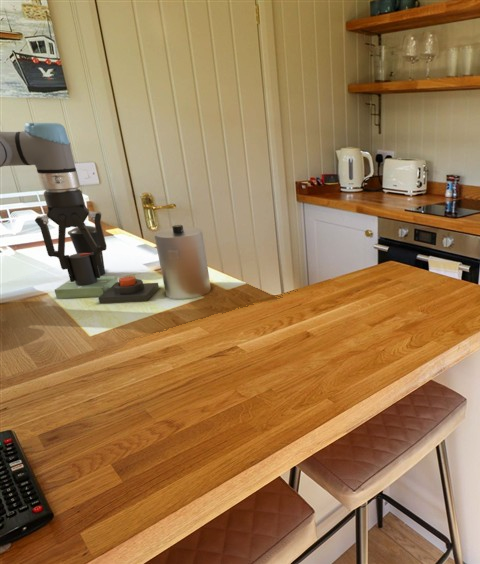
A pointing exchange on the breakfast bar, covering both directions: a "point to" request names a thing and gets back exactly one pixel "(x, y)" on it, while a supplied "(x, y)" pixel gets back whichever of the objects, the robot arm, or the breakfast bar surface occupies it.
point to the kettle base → (129, 292)
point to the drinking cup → (86, 243)
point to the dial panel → (85, 288)
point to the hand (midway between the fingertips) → (85, 278)
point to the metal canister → (183, 262)
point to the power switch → (127, 281)
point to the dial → (82, 268)
